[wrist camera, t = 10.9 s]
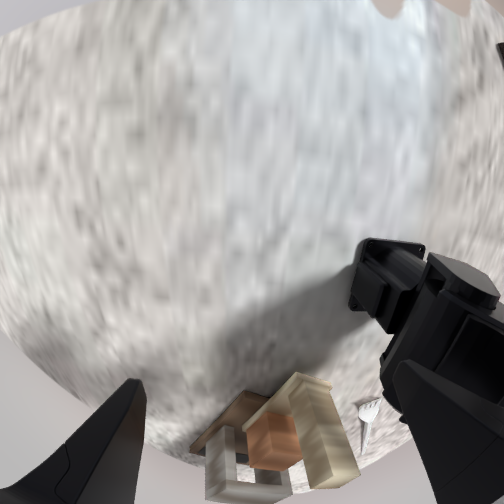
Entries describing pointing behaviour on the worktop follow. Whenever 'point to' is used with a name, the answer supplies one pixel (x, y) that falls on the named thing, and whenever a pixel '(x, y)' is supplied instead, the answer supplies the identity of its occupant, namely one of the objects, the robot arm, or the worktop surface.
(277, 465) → the beige orange stepped block
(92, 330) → the worktop surface
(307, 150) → the worktop surface
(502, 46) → the hardcover book
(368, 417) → the fork
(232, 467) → the tunnel
